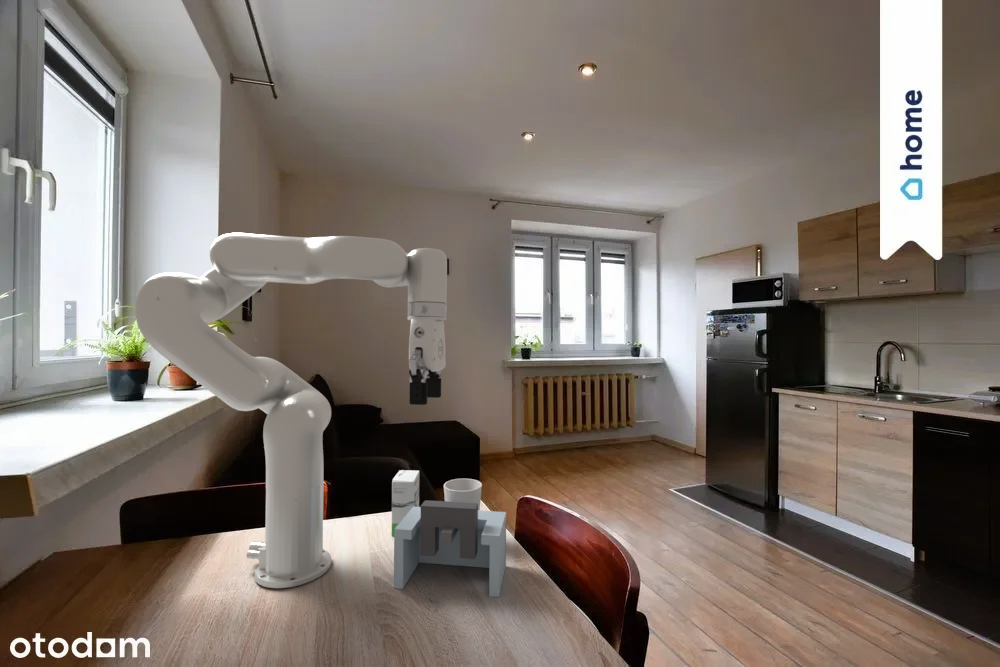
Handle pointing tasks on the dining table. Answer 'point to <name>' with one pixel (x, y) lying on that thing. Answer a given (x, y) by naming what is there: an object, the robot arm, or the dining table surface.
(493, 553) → the shelf
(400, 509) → the ink box
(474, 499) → the cup
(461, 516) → the grey arch block
